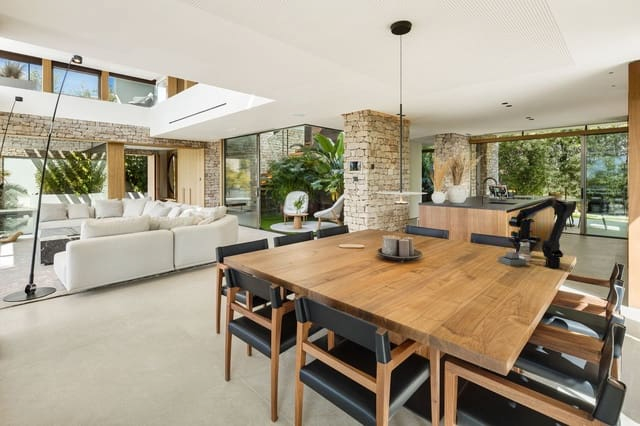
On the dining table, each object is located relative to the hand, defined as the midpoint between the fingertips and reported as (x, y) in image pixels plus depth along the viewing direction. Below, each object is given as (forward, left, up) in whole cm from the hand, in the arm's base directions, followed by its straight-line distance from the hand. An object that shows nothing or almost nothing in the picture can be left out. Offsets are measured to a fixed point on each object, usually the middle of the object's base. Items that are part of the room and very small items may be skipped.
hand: (524, 252), depth 211 cm
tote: (-7, +14, -5) cm, 16 cm away
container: (+11, -9, -5) cm, 15 cm away
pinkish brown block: (0, 0, -5) cm, 5 cm away
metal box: (-7, +14, -4) cm, 16 cm away
